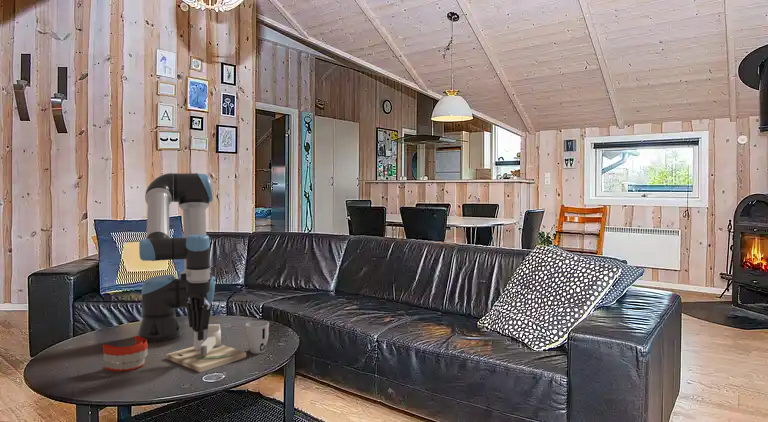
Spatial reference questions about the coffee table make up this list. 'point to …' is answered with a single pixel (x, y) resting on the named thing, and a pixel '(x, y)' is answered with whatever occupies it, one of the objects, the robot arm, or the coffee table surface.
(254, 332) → the cup
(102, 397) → the coffee table surface
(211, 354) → the board
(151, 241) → the robot arm
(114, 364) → the toy
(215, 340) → the lever
